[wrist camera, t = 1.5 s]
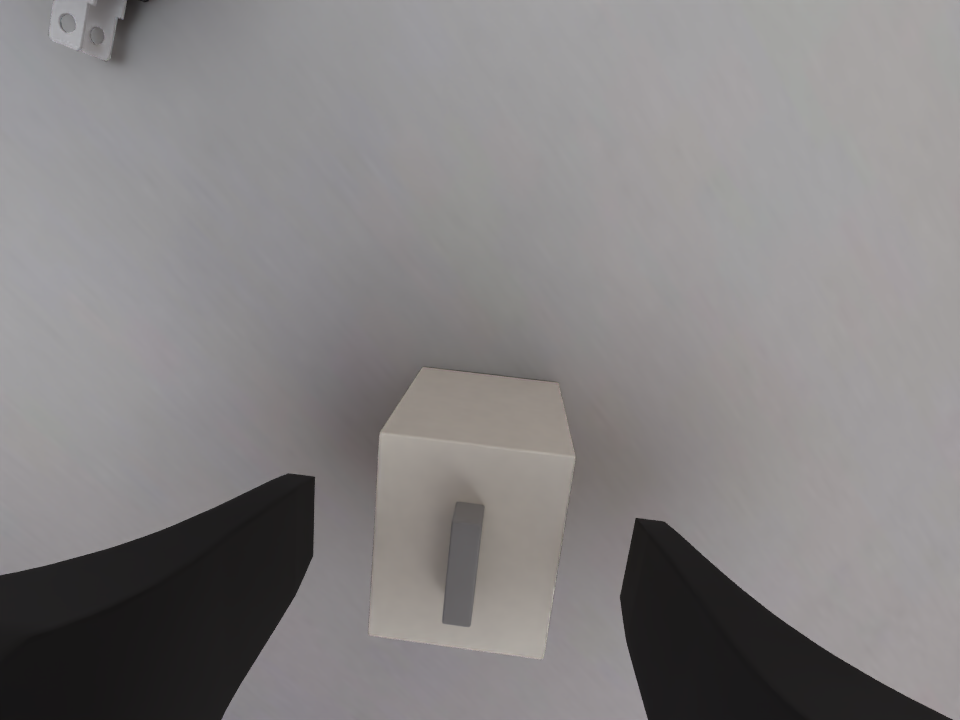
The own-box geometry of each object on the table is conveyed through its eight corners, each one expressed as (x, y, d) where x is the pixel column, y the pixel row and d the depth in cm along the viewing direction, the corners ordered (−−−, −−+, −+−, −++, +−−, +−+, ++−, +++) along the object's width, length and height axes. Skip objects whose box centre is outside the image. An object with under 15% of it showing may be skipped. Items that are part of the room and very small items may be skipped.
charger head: (410, 518, 17) (357, 664, 12) (421, 366, 16) (367, 448, 10) (537, 534, 17) (545, 691, 11) (559, 382, 16) (580, 475, 10)
